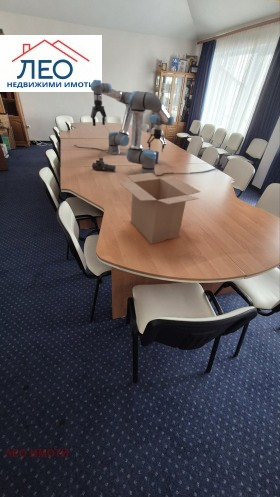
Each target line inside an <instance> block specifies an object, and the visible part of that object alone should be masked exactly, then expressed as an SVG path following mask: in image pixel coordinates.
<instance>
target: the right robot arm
mask: <svg viewBox="0 0 280 497" xmlns="http://www.w3.org/2000/svg"><path fill="white" fill-rule="evenodd" d="M163 104H164V103H163V101H162V99H161V98H160V97H159V96H157V95H156V94H155V93H152V92H151V91H139V90H136V91H135V90H134V91H132V93H131V95H130V97H129V107H130V108H131V111H132V113H133V114H132V119H131V140H130V143H131V144H130V145H129V147H128V149H127V150H126V154H125V155H126V159H127V161H128V162H129V163H132V164H137V165H141V169H140V172H139V174H145V173H153V174H154V175H156V176H157V177H160V176H161V177H162V176H163V175H168V174H170V175H171V174H173V172H164V173H162V174H156V169H155V167H156V164H155V160H156V153H155V152H154V151H155V150H152V149H151V146H152V145H151V143H152V142H153V141H154V140H159V141H160V143H161V145H162V146H161V153H163V152H164V149H165V146H166V145H167V141H166V139H165V135H164V134H162V128H163V126H173V125H174V124H175V123H174V122H175V117H174V116H173V115H170V114H169V113H168V111H167V110H166V108H165V107H164V105H163ZM146 111H151V112H153V113H155V114H152V115H150V116H149V122H150V123H151V124H153V125H154V127H153V128H154V129H153V133H150V136H149V138H148V139H147V141H146V144H148V146H147V147H148V148H145V149H144V148H143V147H142V137H143V136H142V135H143V123H144V122H143V121H144V114H145V113H146ZM151 138H152V139H151ZM217 169H218V170H220V168H219V167H215V168H212V169H208V170H204V171H196V172H195V171H194V172H193V171H192V172H191V174H199V173H206V172H210V171H214V170H217Z"/></svg>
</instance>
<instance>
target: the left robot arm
mask: <svg viewBox="0 0 280 497" xmlns="http://www.w3.org/2000/svg"><path fill="white" fill-rule="evenodd" d="M112 87H113V86H112V85H111V83H108V82H102V80H101V79H93V81H92V82H91V84H90V89H91V91H92V92H93V105H92V109H91V113H90V118H91V119H92V120H91V121H92V126H93V127H96V126H97V125H96V116H97V113H100V115H101V122H102V124H101V125H103V126H106V117H107V113H106V110H105V106H104V105H103V101H102V100H103V96H106V97H108V98H111V99H114V100H116V101H117V102H119V103H121V104H122V105H125V111H124V115H123V119H122V124H121V127H120V130H118V131H109V132H108V147H107V149H105V150H104V149H101V148H96V147H91V149H93V150H99V151H101V152H107V154H109V155H120V154H121V150H120V147H127V146H128V145H129V143H130V137H129V131H130V127H131V123H132V119H133V113H132V111H131V108H130V107H129V97H130V95H131V93H132V92H133V91H132V92H129V91H121V90H117V89H113V88H112ZM74 147H76V148H79V149H88V147H87V146H78V145H77V144H74Z"/></svg>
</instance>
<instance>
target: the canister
mask: <svg viewBox="0 0 280 497" xmlns="http://www.w3.org/2000/svg"><path fill="white" fill-rule="evenodd" d="M153 151H154V152H155V153H156V160H155V165H157V164H159V162H158V161H159V155H160V151H157V150H153Z"/></svg>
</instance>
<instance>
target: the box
mask: <svg viewBox="0 0 280 497" xmlns="http://www.w3.org/2000/svg"><path fill="white" fill-rule="evenodd" d="M126 177H127V178H128V179H129V180H130V181H117V182H118V184H120V185H121V186H122V187H123V188H124V189H126V190H127V191H128V192H129V193H131V212H130V216H131V217H130V222H131V224H132V225H133V226H134V227H135V228H136V229H137V230H138V231H139V232H140V233H141V234H142V236H144V237H145V239H147V241H149V242H150V244H151V245H152V244H155V243H159V242H162V241H167V240H171V239H174V238H178V237H179V236H180V232H181V228H182V222H183V218H184V213H185V207H186V202H189V201H193V200H199V198H198V197H195V196H192V195H193V194H197V193H201V190H199V189H197V188H195V187H194V186H191V185H190V184H188V183H186V182H185V181H183V180H181V179H179V178H177V177H175V176H173V175H171V176H165V177H159V176H157V174H156V175H154V174H153V173H145V174H140V173H136V174H128V175H126Z"/></svg>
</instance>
